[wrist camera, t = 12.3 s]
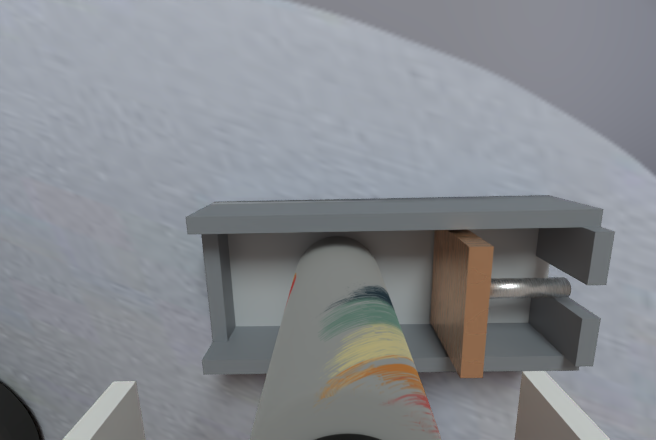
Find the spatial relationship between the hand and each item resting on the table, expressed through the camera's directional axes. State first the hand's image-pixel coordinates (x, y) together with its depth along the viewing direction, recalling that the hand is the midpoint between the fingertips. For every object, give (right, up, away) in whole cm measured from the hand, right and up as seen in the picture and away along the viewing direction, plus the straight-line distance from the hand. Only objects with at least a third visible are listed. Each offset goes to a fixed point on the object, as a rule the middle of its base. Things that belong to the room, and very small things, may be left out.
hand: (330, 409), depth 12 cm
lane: (+4, +3, +13) cm, 14 cm away
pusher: (+11, +3, +12) cm, 16 cm away
